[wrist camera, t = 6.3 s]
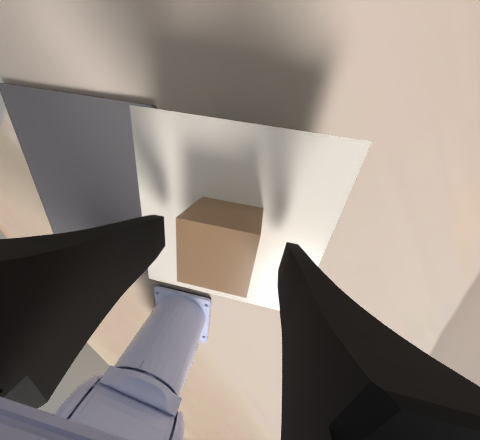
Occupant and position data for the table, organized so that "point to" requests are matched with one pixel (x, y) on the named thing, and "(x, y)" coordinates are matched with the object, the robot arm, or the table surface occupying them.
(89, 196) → the mat
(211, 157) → the lid
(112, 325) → the table surface
